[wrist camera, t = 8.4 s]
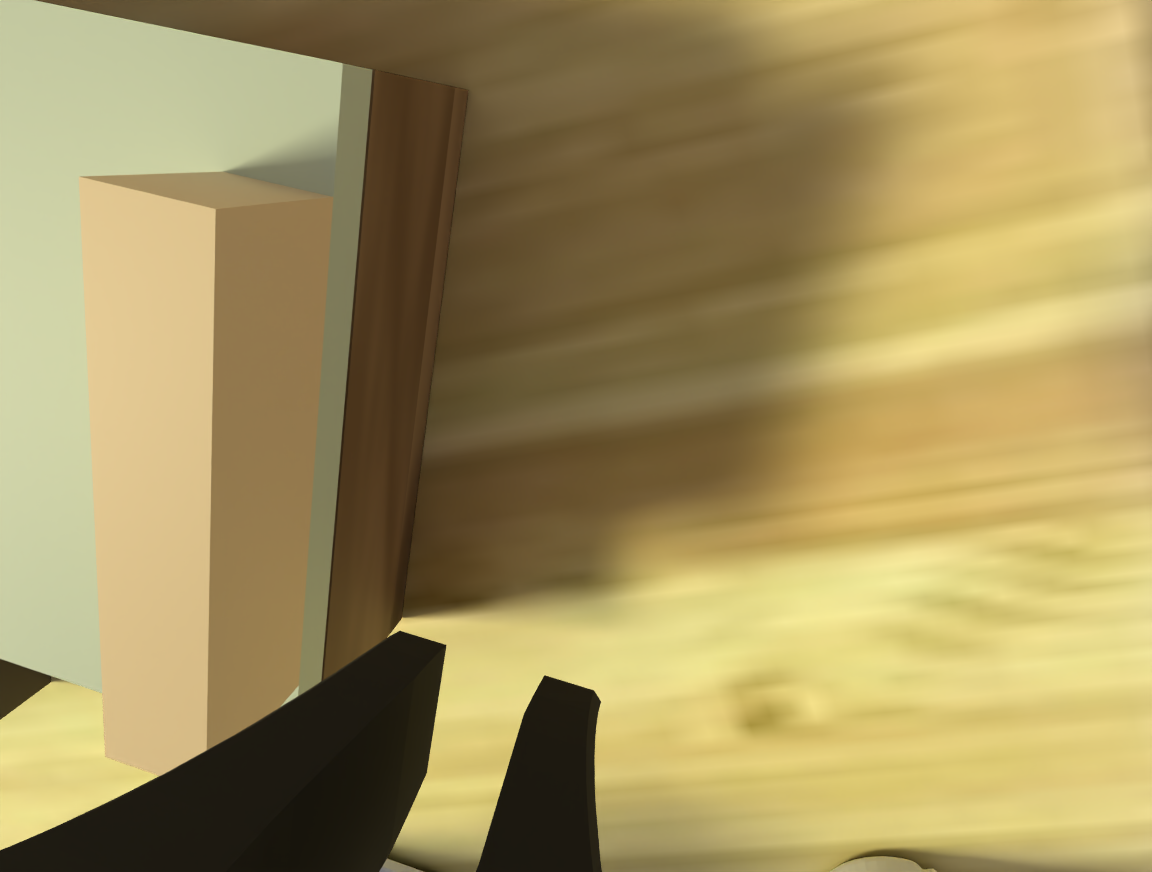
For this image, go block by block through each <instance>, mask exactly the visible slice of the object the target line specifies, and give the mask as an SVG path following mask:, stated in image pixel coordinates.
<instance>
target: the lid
mask: <svg viewBox="0 0 1152 872" xmlns="http://www.w3.org/2000/svg"><path fill="white" fill-rule="evenodd" d="M371 82H372V69H367V68H363V67H358V66H353V65H349V64H344V63H339V62H334V61H329V60H324V59H320V58H315V57H310V56H305V55H300V54H295V53H290V52H285V51H280V50H275V49H271V48H266V47H261V46H256V45H251V44H246V43H241V42H236V41H231V40H226V39H222V38H217V37H212V36H207V35H202V34H197V33H192V32H187V31H182V30H177V29H173V28H168V27H163V26H158V25H153V24H148V23H143V22H138V21H133V20H128V19H124V18H119V17H114V16H109V15H104V14H99V13H94V12H89V11H84V10H79V9H75V8H70V7H65V6H60V5H55V4H50V3H45V2H40V1H35V0H0V659H2V660H5V661H8V662H11V663H14V664H17V665H20V666H23V667H26V668H29V669H32V670H35V671H38V672H41V673H44V674H47V675H50V676H53V677H56V678H59V679H62V680H65V681H68V682H71V683H73V684H76V685H79V686H82V687H85V688H88V689H91V690H94V691H97V692H100V693H102V696H103V718H104V740H105V757H107V758H110V759H113V760H116V761H118V762H121V763H124V764H127V765H130V766H133V767H136V768H138V769H141V770H144V771H147V772H150V773H153V774H156V775H158V776H161V775H163V774H165V773H167V772H168V771H170V770H172V769H174V768H176V767H177V766H179V765H181V764H183V763H185V762H186V761H188V760H190V759H192V758H194V757H195V756H197V755H199V754H201V753H203V752H204V751H206V750H208V749H210V748H212V747H213V746H215V745H217V744H219V743H221V742H222V741H224V740H226V739H228V738H230V737H231V736H233V735H235V734H237V733H238V732H240V731H242V730H243V729H245V728H247V727H249V726H250V725H252V724H254V723H255V722H257V721H258V720H260V719H262V718H263V717H265V716H267V715H268V714H270V713H271V712H273V711H275V710H276V709H278V708H280V707H281V706H283V705H284V704H286V703H288V702H289V701H291V700H293V699H294V698H296V697H297V696H299V695H301V694H302V693H304V692H306V691H307V690H309V689H310V688H312V687H313V686H315V685H316V684H318V683H319V682H321V678H322V666H323V654H324V643H325V631H326V619H327V607H328V595H329V583H330V571H331V559H332V547H333V535H334V523H335V511H336V499H337V488H338V476H339V464H340V452H341V440H342V428H343V416H344V404H345V392H346V380H347V368H348V356H349V344H350V333H351V321H352V309H353V297H354V285H355V273H356V261H357V249H358V237H359V225H360V213H361V201H362V189H363V178H364V166H365V154H366V142H367V130H368V118H369V106H370V94H371Z"/></svg>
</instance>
